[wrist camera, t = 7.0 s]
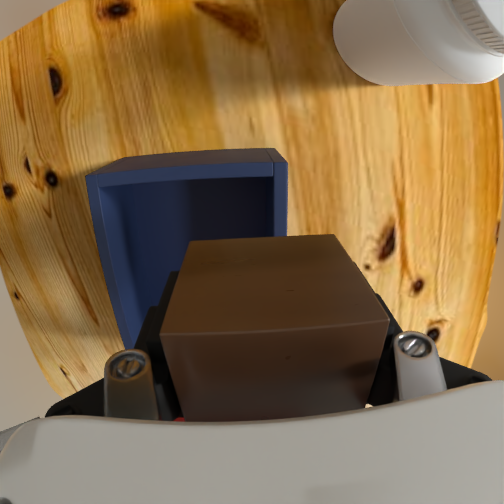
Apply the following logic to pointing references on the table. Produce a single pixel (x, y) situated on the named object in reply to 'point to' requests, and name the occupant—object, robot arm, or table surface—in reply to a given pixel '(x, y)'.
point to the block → (271, 330)
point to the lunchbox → (177, 216)
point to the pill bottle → (422, 40)
